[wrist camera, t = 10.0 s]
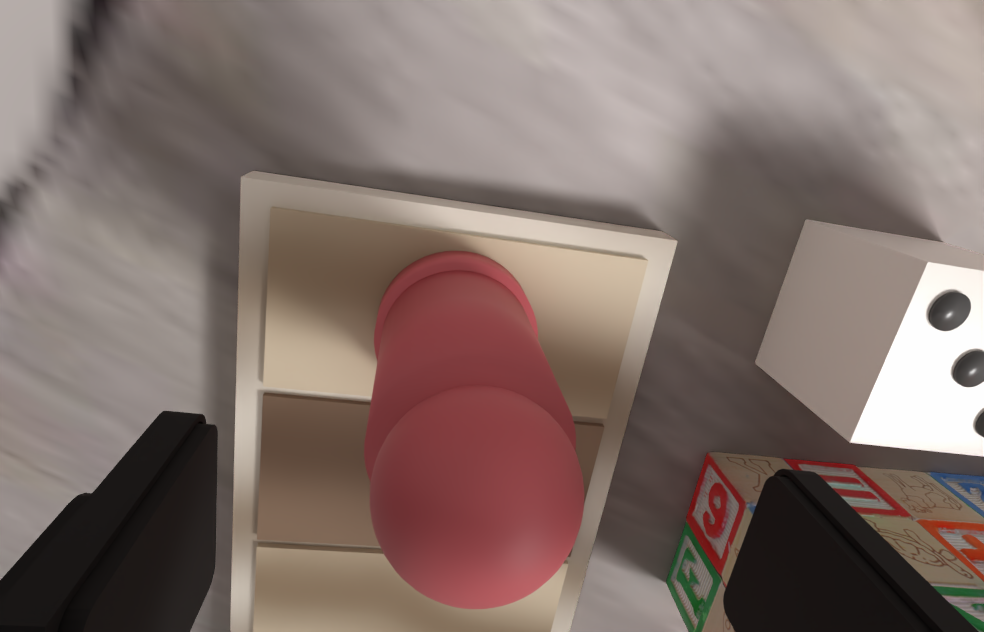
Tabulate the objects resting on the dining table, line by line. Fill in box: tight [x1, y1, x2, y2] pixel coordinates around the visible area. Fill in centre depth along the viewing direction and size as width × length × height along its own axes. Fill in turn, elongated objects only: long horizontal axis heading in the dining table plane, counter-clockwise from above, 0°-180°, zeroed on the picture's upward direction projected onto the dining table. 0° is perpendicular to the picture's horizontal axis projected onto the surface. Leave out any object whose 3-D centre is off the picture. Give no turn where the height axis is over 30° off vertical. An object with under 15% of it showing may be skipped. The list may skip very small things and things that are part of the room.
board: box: [230, 171, 678, 632], centre depth 21 cm, size 23×12×1 cm, turn 171°
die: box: [755, 219, 984, 456], centre depth 18 cm, size 5×5×5 cm
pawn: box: [364, 251, 584, 609], centre depth 13 cm, size 4×4×9 cm
